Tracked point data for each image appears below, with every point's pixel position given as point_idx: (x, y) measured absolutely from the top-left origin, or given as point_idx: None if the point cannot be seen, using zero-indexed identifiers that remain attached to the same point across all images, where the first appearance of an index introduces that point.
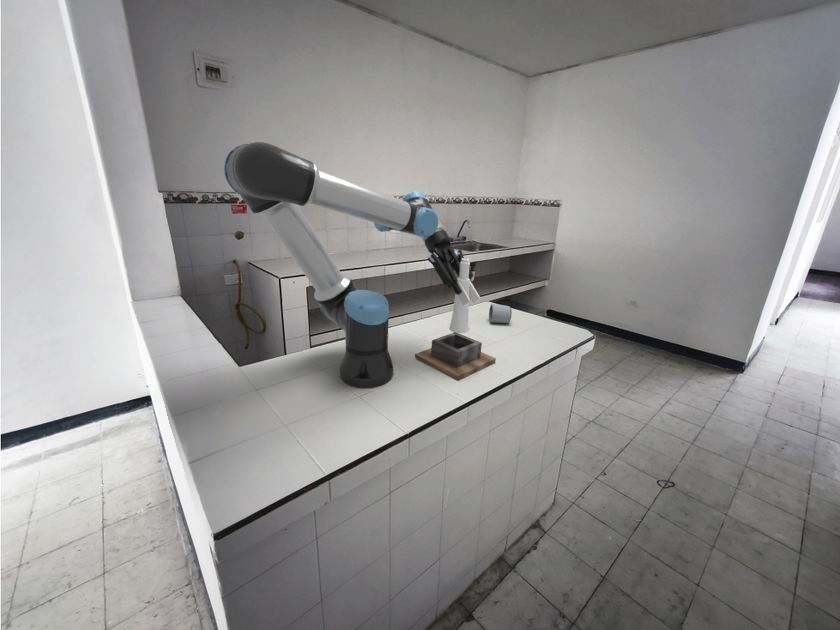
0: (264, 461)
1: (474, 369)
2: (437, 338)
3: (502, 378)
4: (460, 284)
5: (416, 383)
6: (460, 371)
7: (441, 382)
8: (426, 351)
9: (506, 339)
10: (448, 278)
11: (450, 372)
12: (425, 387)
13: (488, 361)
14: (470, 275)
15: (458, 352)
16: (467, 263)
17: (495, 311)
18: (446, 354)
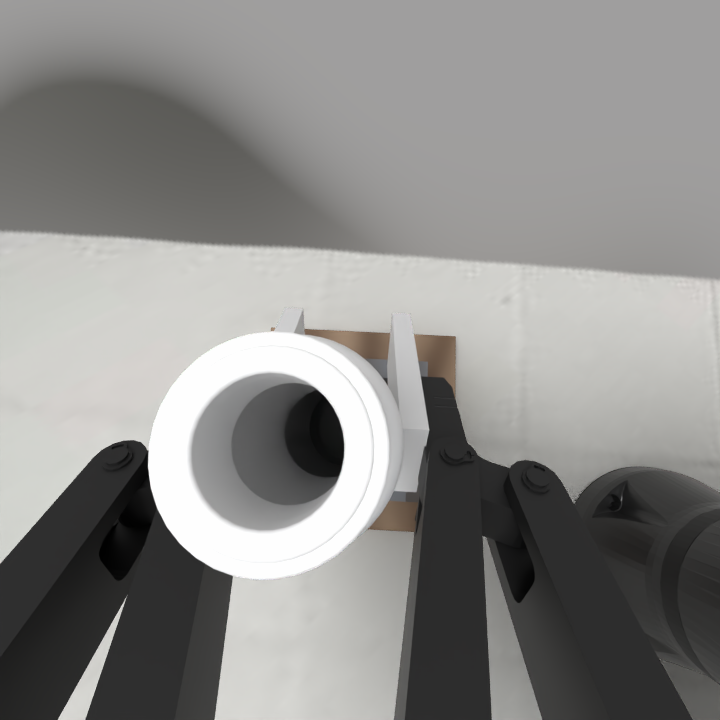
0: None
1: (380, 334)
2: (393, 499)
3: (346, 266)
4: (414, 403)
5: (557, 408)
6: (431, 349)
7: (496, 365)
8: (408, 520)
9: (75, 405)
10: (564, 494)
11: (454, 368)
12: (551, 377)
13: (309, 330)
14: (147, 460)
15: (427, 363)
16: (332, 342)
17: None
18: None
